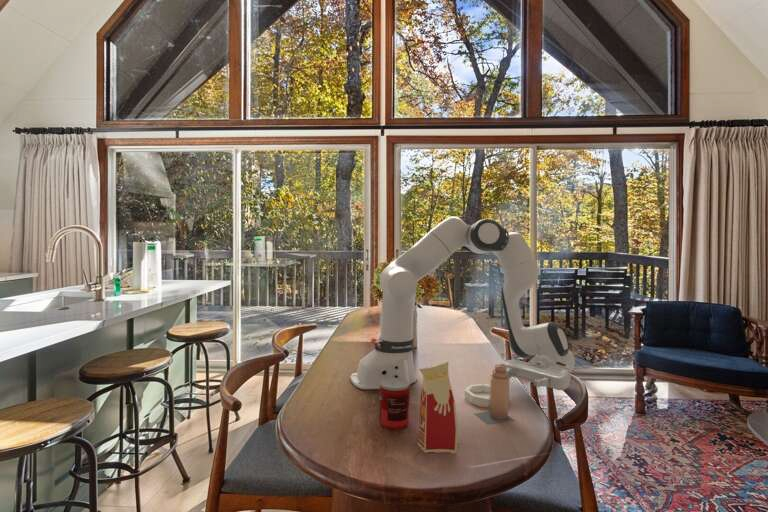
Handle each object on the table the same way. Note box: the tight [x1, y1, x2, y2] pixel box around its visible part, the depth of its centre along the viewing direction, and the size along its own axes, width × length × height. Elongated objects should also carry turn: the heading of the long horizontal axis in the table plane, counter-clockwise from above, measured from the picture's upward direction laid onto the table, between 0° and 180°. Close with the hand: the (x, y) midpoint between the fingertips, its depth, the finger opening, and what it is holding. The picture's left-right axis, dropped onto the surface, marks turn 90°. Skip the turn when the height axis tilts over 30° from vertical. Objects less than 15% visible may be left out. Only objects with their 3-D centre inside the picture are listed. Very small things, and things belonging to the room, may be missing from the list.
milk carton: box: [417, 361, 458, 454], centre depth 102 cm, size 9×9×20 cm
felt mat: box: [473, 410, 516, 425], centre depth 118 cm, size 8×7×1 cm
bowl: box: [464, 383, 490, 408], centre depth 130 cm, size 12×12×3 cm
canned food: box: [378, 378, 410, 431], centre depth 113 cm, size 8×8×11 cm
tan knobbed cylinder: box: [489, 364, 510, 420], centre depth 118 cm, size 5×5×14 cm
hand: (520, 379), depth 126 cm, fingers open, 8 cm apart
